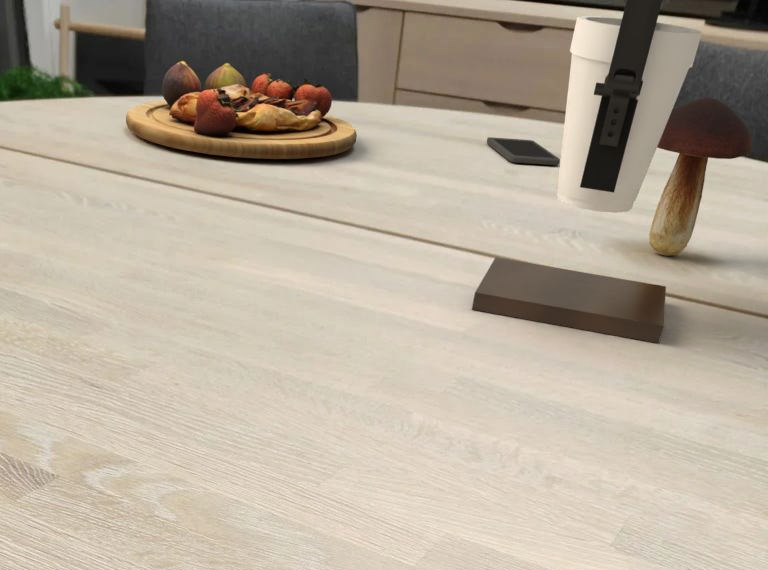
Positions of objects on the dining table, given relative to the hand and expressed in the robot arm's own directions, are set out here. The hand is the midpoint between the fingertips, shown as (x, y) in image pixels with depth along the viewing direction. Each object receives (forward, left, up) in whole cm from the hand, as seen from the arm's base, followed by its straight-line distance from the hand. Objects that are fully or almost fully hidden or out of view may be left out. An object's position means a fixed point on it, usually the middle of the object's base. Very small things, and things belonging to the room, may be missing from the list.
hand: (601, 177), depth 83 cm
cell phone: (+13, -68, -11) cm, 70 cm away
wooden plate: (+50, -50, -11) cm, 72 cm away
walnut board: (0, 0, -11) cm, 11 cm away
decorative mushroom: (-8, -24, -11) cm, 28 cm away
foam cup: (0, 0, -2) cm, 2 cm away
